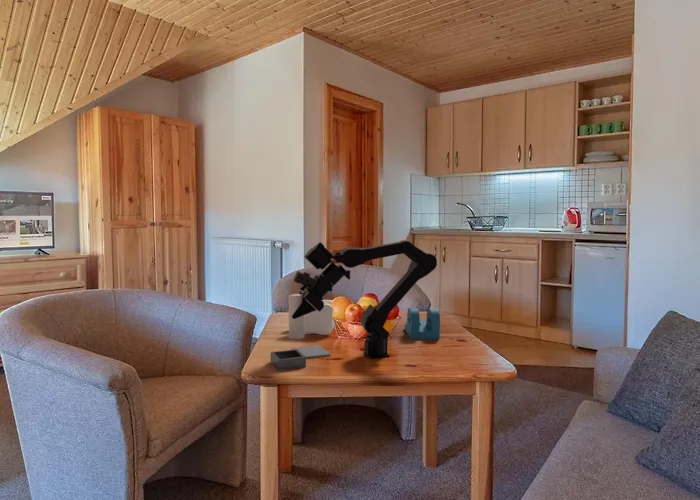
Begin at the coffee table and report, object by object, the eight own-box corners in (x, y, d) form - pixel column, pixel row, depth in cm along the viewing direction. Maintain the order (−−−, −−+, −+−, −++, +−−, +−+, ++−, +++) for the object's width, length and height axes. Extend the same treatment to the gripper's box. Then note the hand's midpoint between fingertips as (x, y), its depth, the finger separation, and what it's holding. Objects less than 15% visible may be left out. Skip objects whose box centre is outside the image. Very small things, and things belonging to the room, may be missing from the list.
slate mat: (319, 347, 158) (319, 345, 158) (330, 355, 149) (330, 353, 149) (290, 350, 154) (290, 348, 154) (300, 359, 145) (300, 357, 144)
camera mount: (439, 339, 170) (440, 311, 169) (411, 339, 169) (411, 311, 168) (428, 327, 188) (429, 301, 187) (402, 327, 187) (403, 301, 186)
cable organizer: (292, 333, 174) (292, 303, 173) (299, 327, 184) (299, 298, 184) (332, 335, 172) (332, 305, 171) (336, 328, 183) (337, 299, 182)
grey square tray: (297, 358, 145) (297, 349, 145) (305, 366, 138) (306, 357, 137) (270, 361, 142) (270, 352, 142) (278, 370, 134) (278, 360, 134)
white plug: (303, 334, 147) (302, 293, 146) (305, 338, 143) (305, 296, 142) (287, 335, 146) (287, 294, 145) (290, 339, 141) (289, 297, 140)
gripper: (305, 258, 152) (272, 293, 151) (312, 265, 134) (274, 304, 133) (329, 281, 154) (296, 315, 153) (339, 291, 136) (302, 330, 135)
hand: (292, 316), depth 144 cm, fingers closed on white plug, 5 cm apart
